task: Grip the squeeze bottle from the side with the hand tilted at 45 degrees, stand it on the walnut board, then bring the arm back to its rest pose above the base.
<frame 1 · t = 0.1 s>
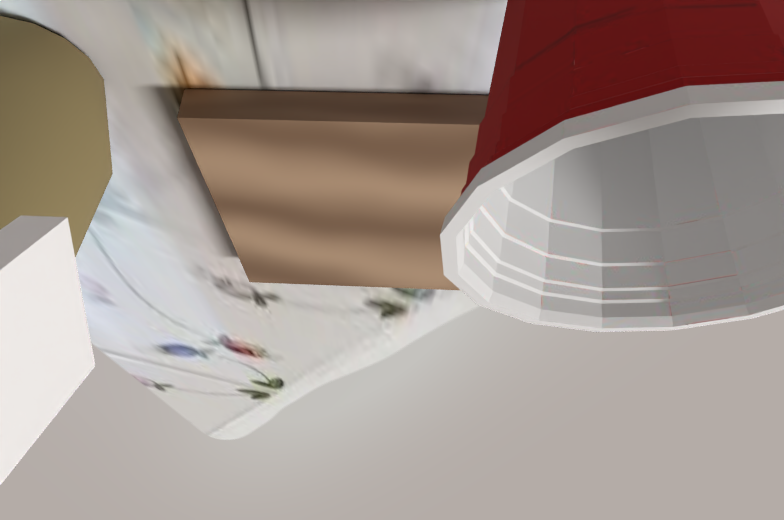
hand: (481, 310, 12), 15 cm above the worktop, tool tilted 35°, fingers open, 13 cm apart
walnut board: (367, 192, 36), on the worktop
squeeze bottle: (32, 64, 30), on the worktop
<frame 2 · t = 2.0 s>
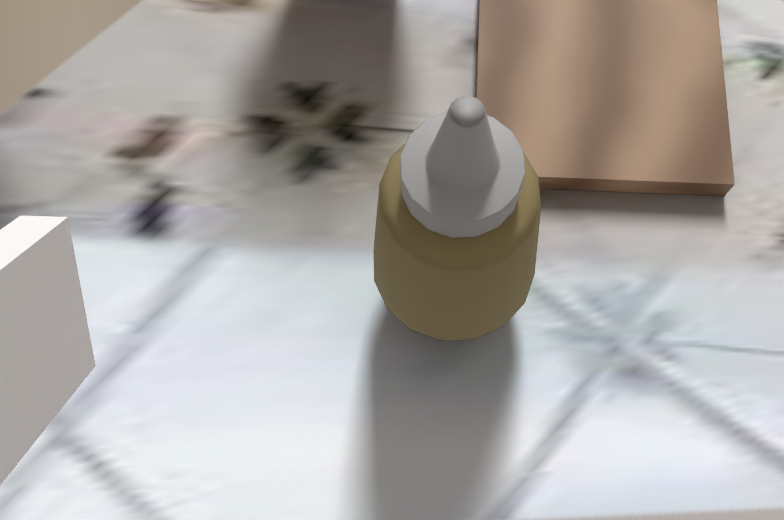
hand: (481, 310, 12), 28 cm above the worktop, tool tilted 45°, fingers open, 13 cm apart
walnut board: (594, 84, 45), on the worktop
squeeze bottle: (451, 286, 41), on the worktop
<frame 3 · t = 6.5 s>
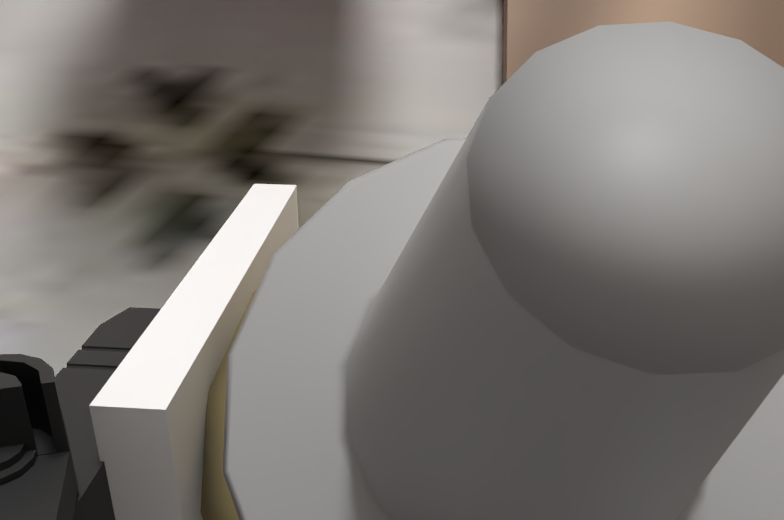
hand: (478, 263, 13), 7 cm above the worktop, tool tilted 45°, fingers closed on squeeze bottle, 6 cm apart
walnut board: (732, 67, 23), on the worktop
squeeze bottle: (457, 495, 19), on the worktop, touching gripper
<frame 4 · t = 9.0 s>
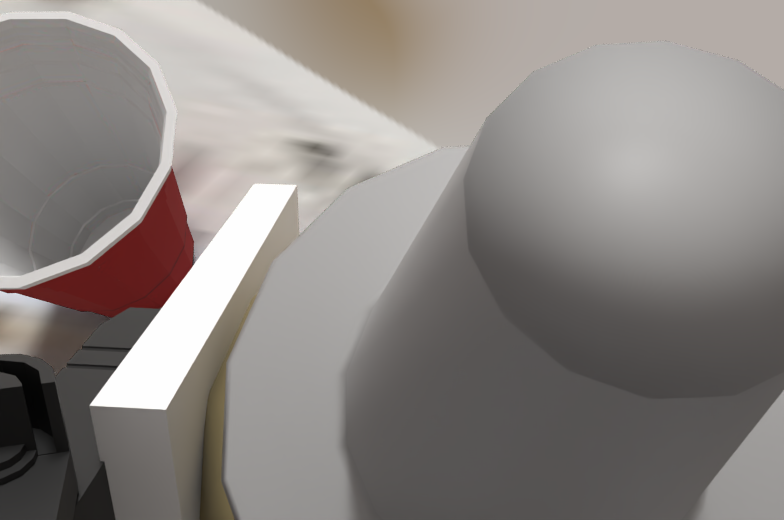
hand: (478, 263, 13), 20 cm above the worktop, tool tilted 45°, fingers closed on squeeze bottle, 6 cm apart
squeeze bottle: (457, 498, 19), point 13 cm above the worktop, touching gripper
plastic cup: (141, 259, 36), on the worktop
when the fingers open (10 cm above the worktop, at t = 11.4 s): squeeze bottle drops 1 cm, resting on walnut board.
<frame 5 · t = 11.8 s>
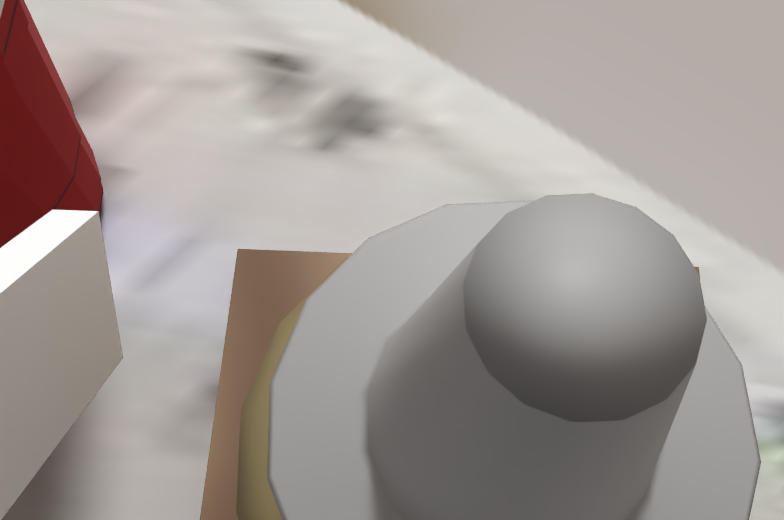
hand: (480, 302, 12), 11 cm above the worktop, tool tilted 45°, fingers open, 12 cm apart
walnut board: (454, 500, 22), on the worktop
squeeze bottle: (456, 501, 21), point 1 cm above the worktop, touching walnut board
plastic cup: (31, 204, 26), on the worktop
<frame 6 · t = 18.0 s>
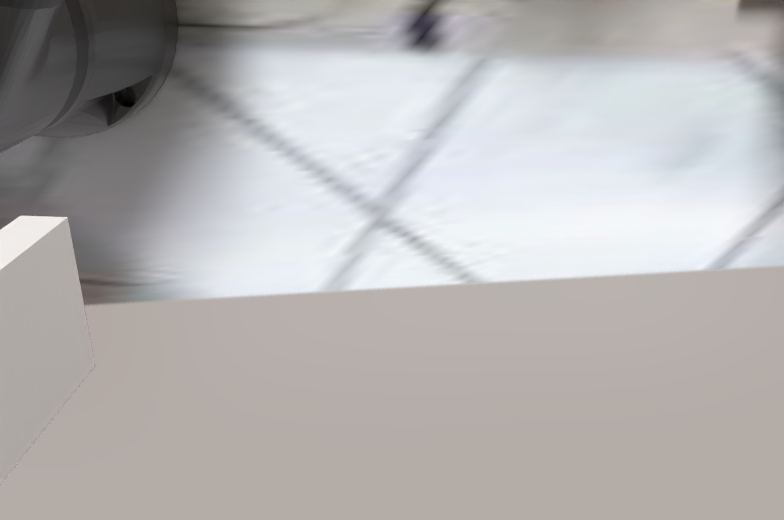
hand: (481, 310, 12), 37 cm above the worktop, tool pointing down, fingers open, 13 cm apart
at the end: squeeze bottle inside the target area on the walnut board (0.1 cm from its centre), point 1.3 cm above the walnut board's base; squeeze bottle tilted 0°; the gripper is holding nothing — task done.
